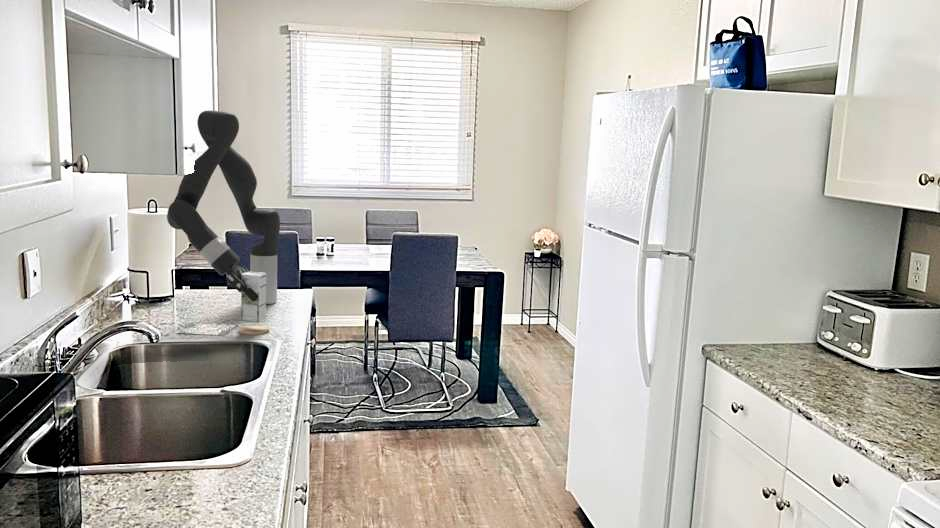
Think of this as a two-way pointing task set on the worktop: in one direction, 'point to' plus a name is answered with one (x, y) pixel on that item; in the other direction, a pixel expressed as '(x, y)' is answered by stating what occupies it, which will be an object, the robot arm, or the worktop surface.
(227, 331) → the plaque
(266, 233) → the robot arm
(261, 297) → the syrup box
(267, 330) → the cork coaster
